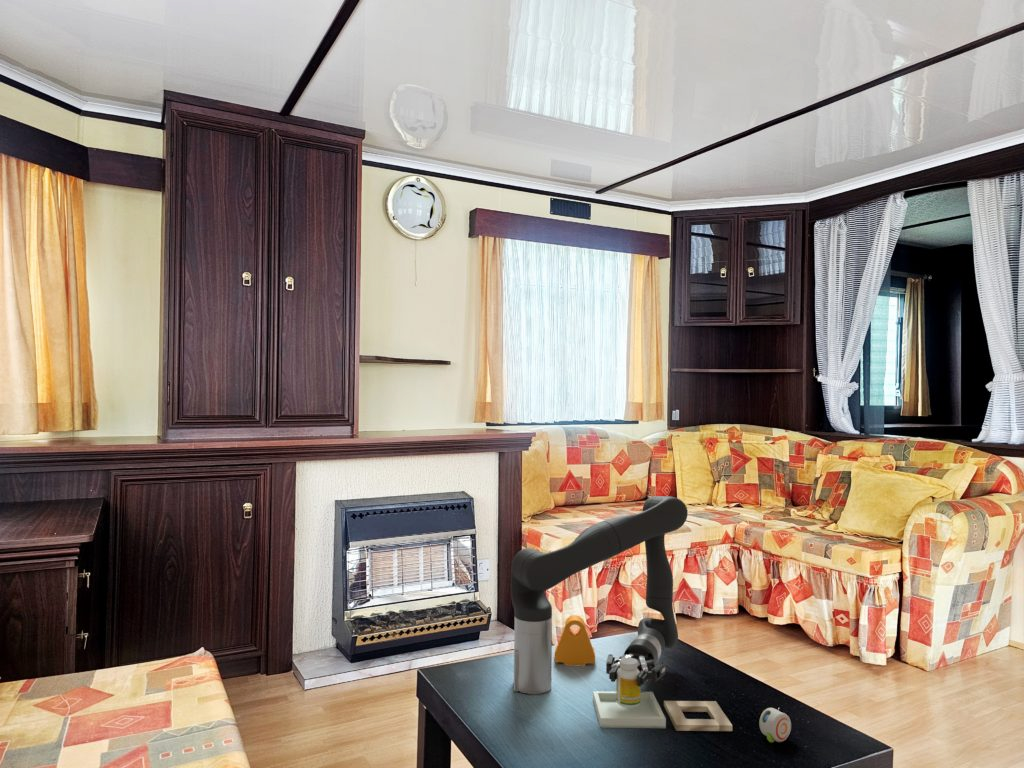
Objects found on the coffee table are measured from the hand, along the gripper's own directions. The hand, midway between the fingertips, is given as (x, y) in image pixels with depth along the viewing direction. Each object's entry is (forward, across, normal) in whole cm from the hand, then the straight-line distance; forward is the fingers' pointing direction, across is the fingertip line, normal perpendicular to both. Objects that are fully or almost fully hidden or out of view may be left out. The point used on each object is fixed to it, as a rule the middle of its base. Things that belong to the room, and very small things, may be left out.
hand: (625, 679), depth 154 cm
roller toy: (-4, +31, +9) cm, 32 cm away
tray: (-2, 0, +8) cm, 9 cm away
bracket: (-28, -21, +9) cm, 36 cm away
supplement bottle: (-3, 0, +6) cm, 7 cm away
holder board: (-7, +14, +8) cm, 18 cm away
